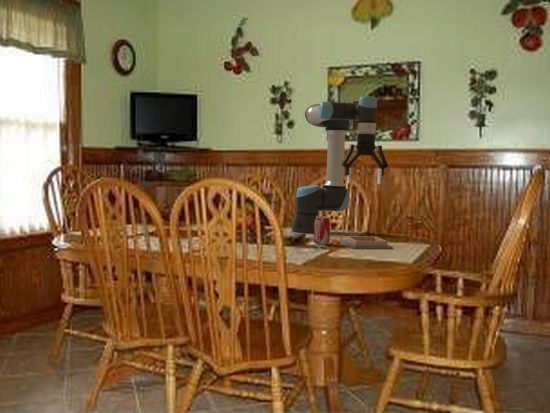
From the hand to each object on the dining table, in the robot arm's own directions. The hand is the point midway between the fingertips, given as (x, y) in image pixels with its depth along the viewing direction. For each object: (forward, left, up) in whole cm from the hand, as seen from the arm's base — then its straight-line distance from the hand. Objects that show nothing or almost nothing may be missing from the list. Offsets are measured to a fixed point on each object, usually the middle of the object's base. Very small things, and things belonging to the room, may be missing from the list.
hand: (364, 183), depth 248 cm
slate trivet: (-4, +3, -27) cm, 28 cm away
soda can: (-8, -16, -28) cm, 33 cm away
